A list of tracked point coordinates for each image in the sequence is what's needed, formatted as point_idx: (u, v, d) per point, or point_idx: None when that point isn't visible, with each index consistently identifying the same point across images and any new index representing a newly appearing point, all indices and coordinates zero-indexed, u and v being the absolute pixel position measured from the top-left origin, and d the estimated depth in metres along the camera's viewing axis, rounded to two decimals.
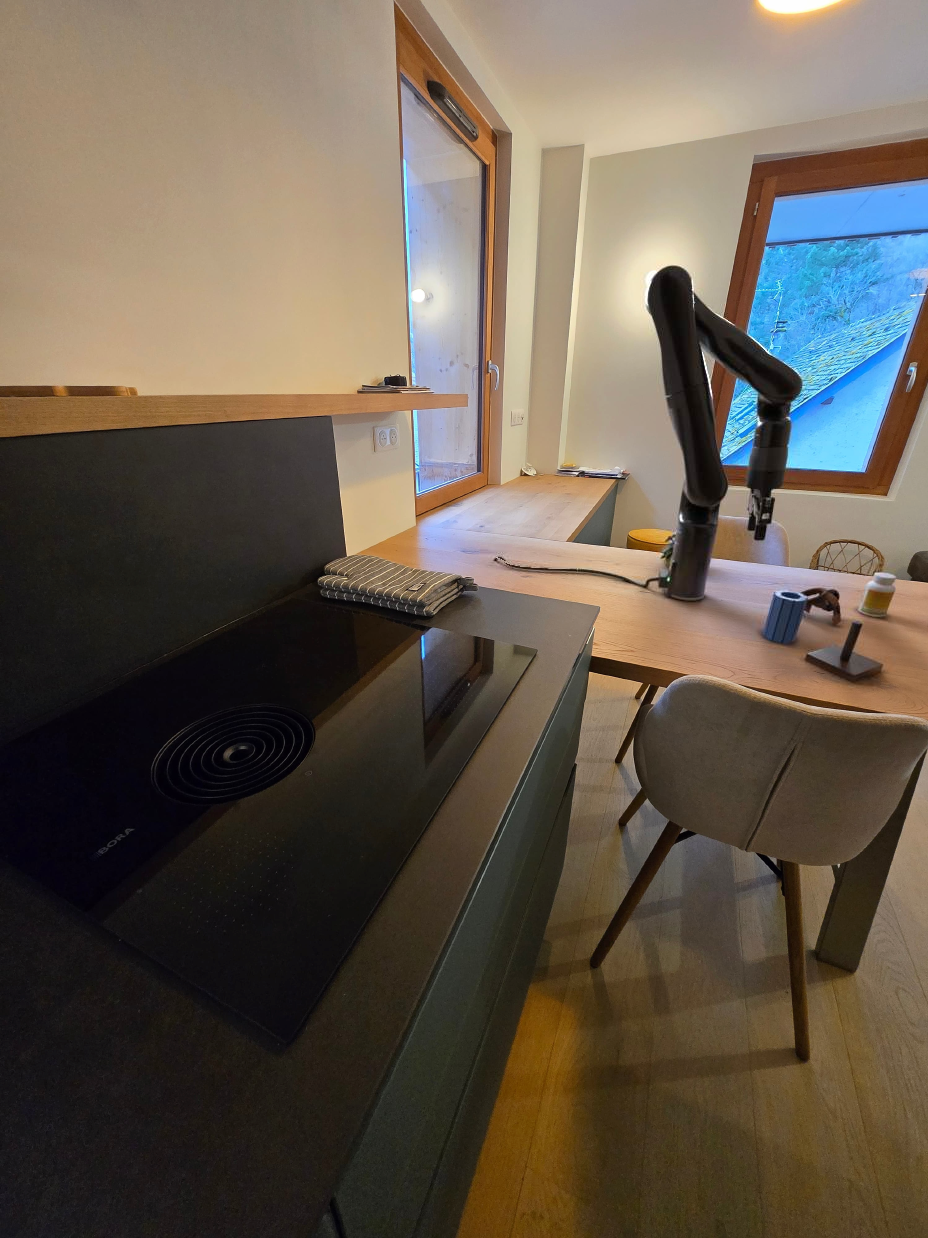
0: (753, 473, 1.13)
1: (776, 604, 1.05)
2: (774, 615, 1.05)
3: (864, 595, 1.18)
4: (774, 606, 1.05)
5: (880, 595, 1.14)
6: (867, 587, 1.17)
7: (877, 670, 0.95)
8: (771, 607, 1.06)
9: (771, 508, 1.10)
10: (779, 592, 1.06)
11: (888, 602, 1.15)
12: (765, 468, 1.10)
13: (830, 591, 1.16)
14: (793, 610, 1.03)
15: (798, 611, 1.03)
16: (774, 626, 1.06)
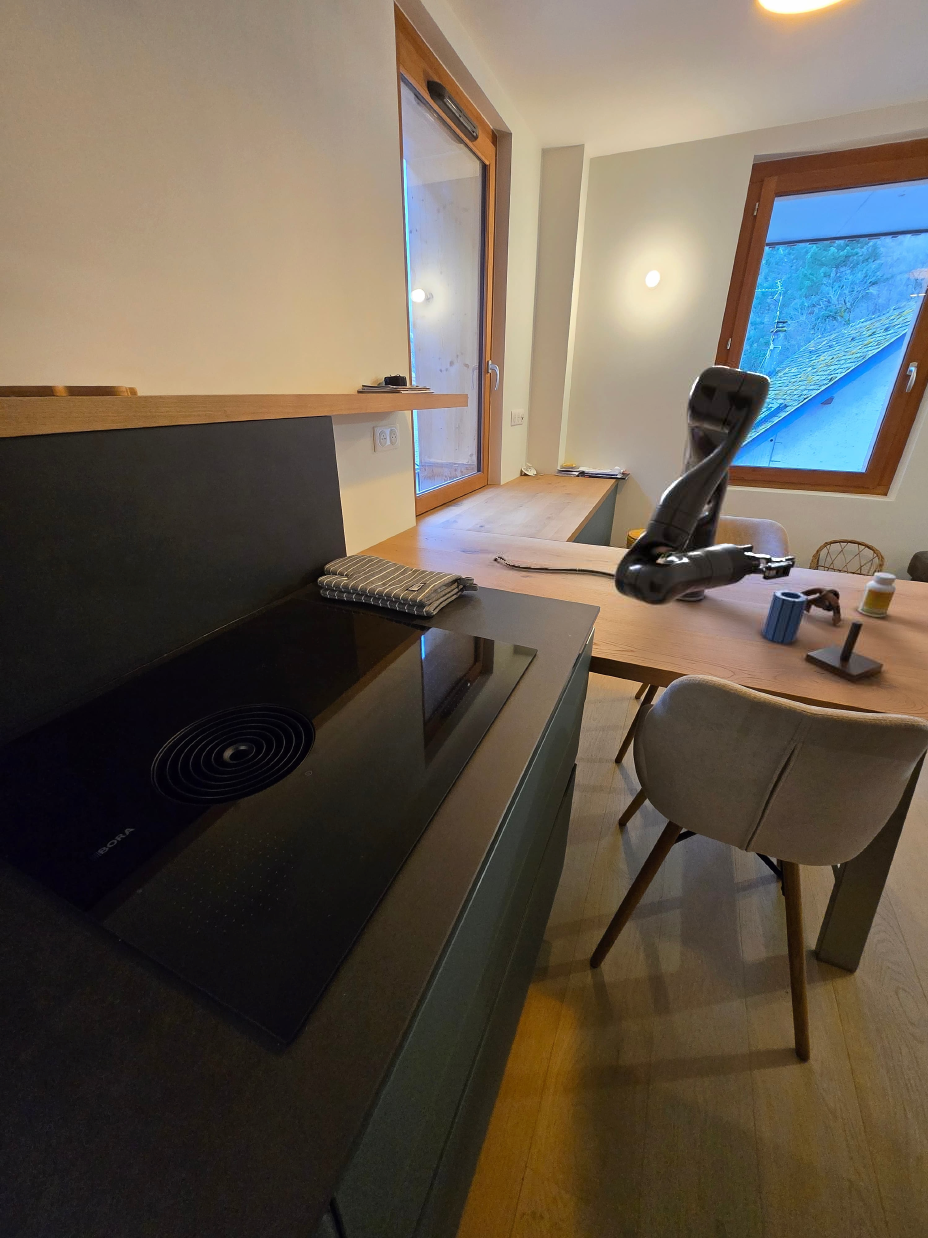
0: None
1: (776, 604, 1.05)
2: (774, 615, 1.05)
3: (864, 595, 1.18)
4: (774, 606, 1.05)
5: (880, 595, 1.14)
6: (867, 587, 1.17)
7: (877, 670, 0.95)
8: (771, 607, 1.06)
9: None
10: (779, 592, 1.06)
11: (888, 602, 1.15)
12: None
13: (830, 591, 1.16)
14: (793, 610, 1.03)
15: (798, 611, 1.03)
16: (774, 626, 1.06)
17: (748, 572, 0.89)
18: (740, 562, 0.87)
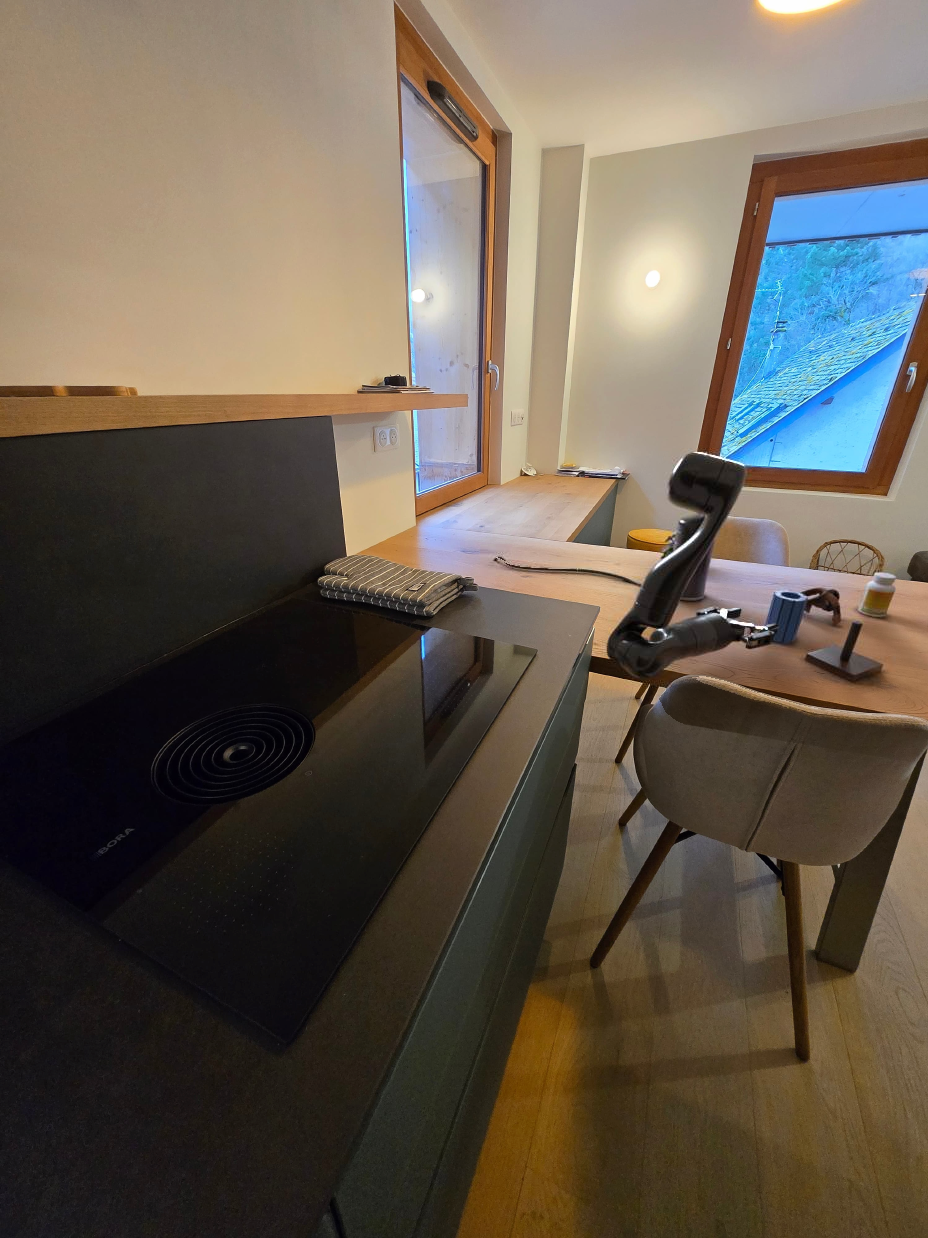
0: None
1: (776, 604, 1.05)
2: (774, 615, 1.05)
3: (864, 595, 1.18)
4: (774, 606, 1.05)
5: (880, 595, 1.14)
6: (867, 587, 1.17)
7: (877, 670, 0.95)
8: (771, 607, 1.06)
9: None
10: (779, 592, 1.06)
11: (888, 602, 1.15)
12: None
13: (830, 591, 1.16)
14: (793, 610, 1.03)
15: (798, 611, 1.03)
16: None
17: (732, 640, 0.96)
18: (724, 633, 0.94)
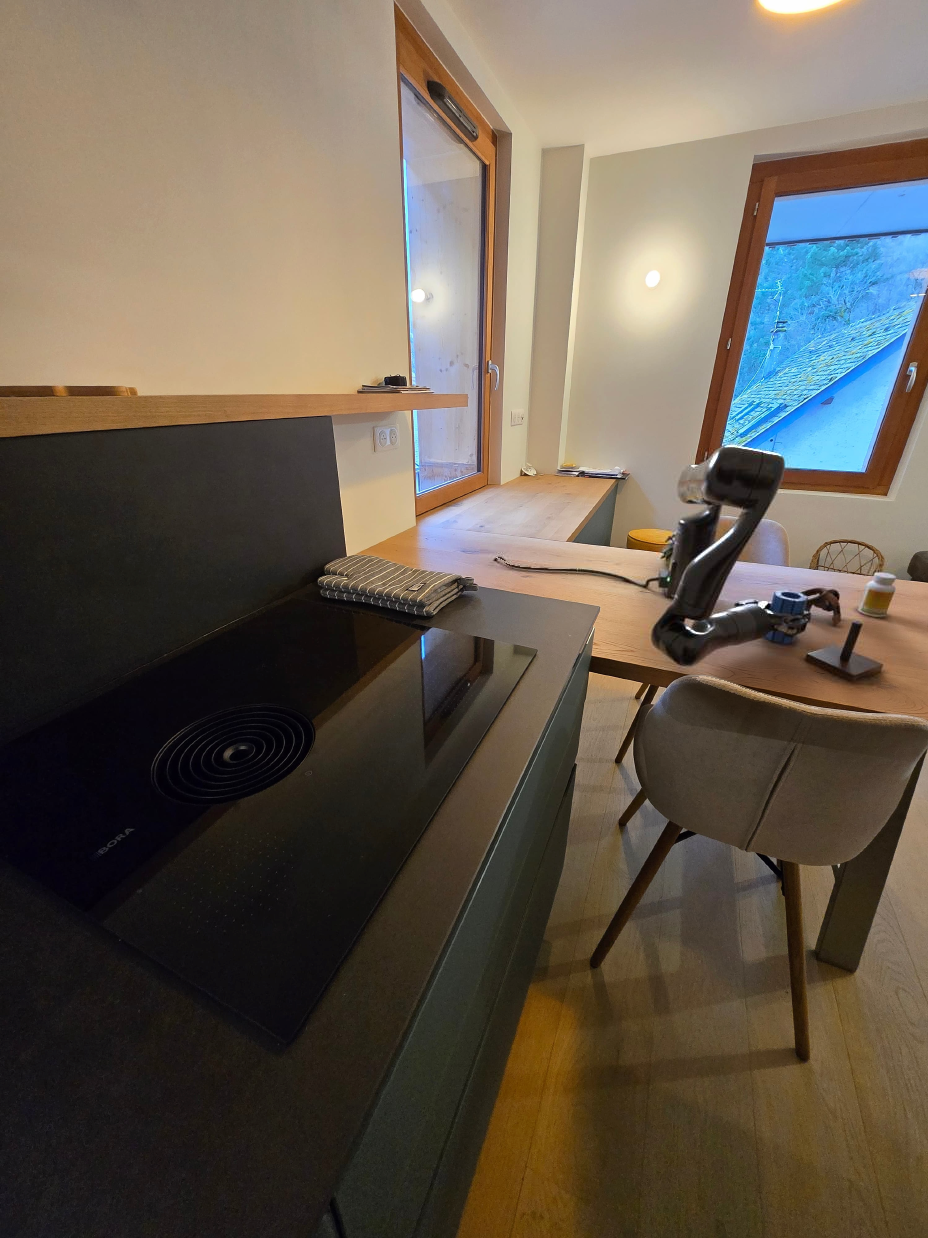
0: None
1: (776, 604, 1.05)
2: None
3: (864, 595, 1.18)
4: (774, 606, 1.05)
5: (880, 595, 1.14)
6: (867, 587, 1.17)
7: (877, 670, 0.95)
8: (771, 607, 1.06)
9: None
10: (779, 592, 1.06)
11: (888, 602, 1.15)
12: None
13: (830, 591, 1.16)
14: (793, 610, 1.03)
15: (798, 611, 1.03)
16: None
17: (770, 630, 1.00)
18: (763, 622, 0.98)
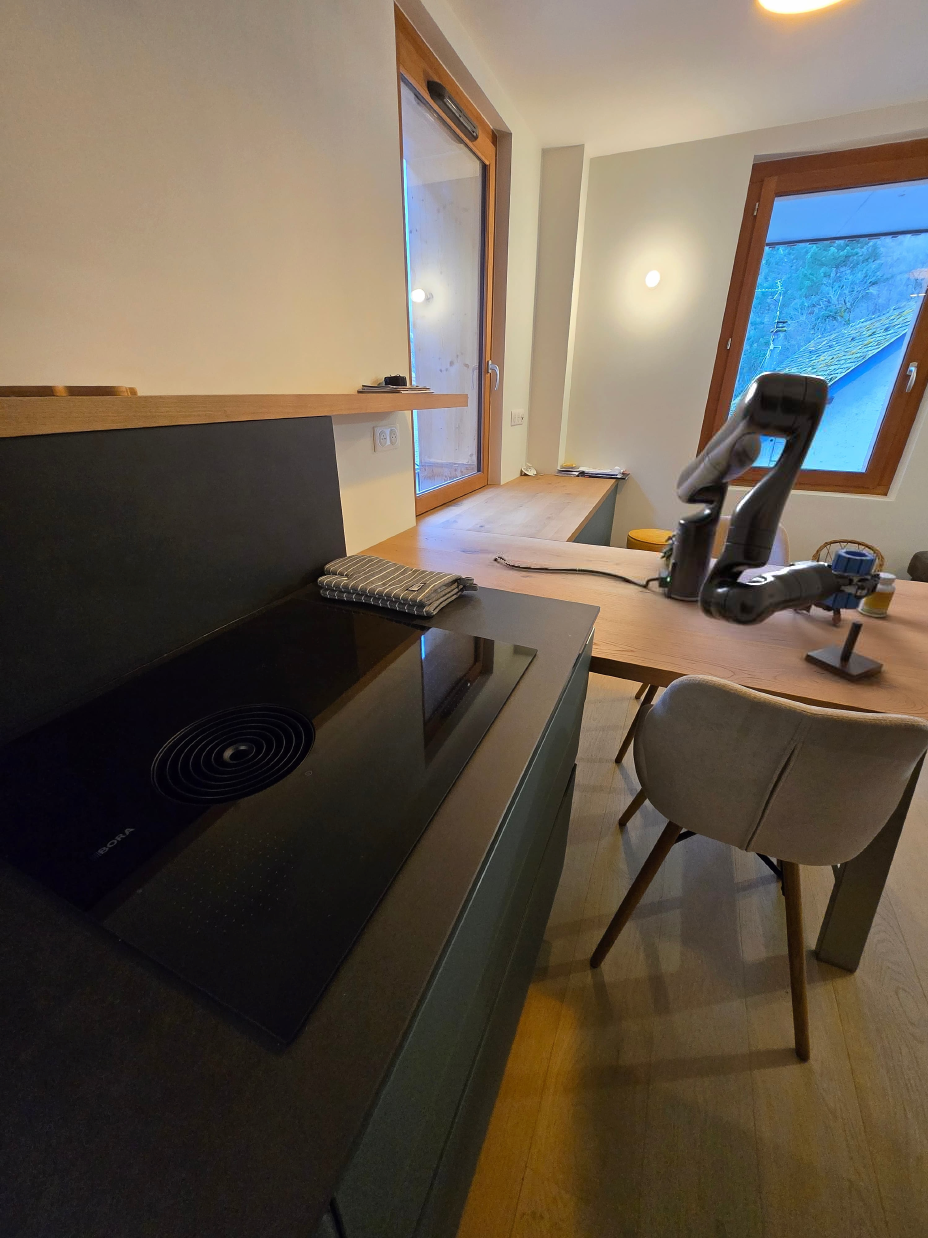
0: None
1: (839, 564, 0.92)
2: None
3: None
4: (836, 566, 0.92)
5: (880, 595, 1.14)
6: None
7: (877, 670, 0.95)
8: (832, 568, 0.93)
9: None
10: (842, 551, 0.93)
11: (888, 602, 1.15)
12: None
13: None
14: (860, 570, 0.90)
15: (866, 571, 0.90)
16: None
17: (836, 591, 0.87)
18: (829, 582, 0.85)
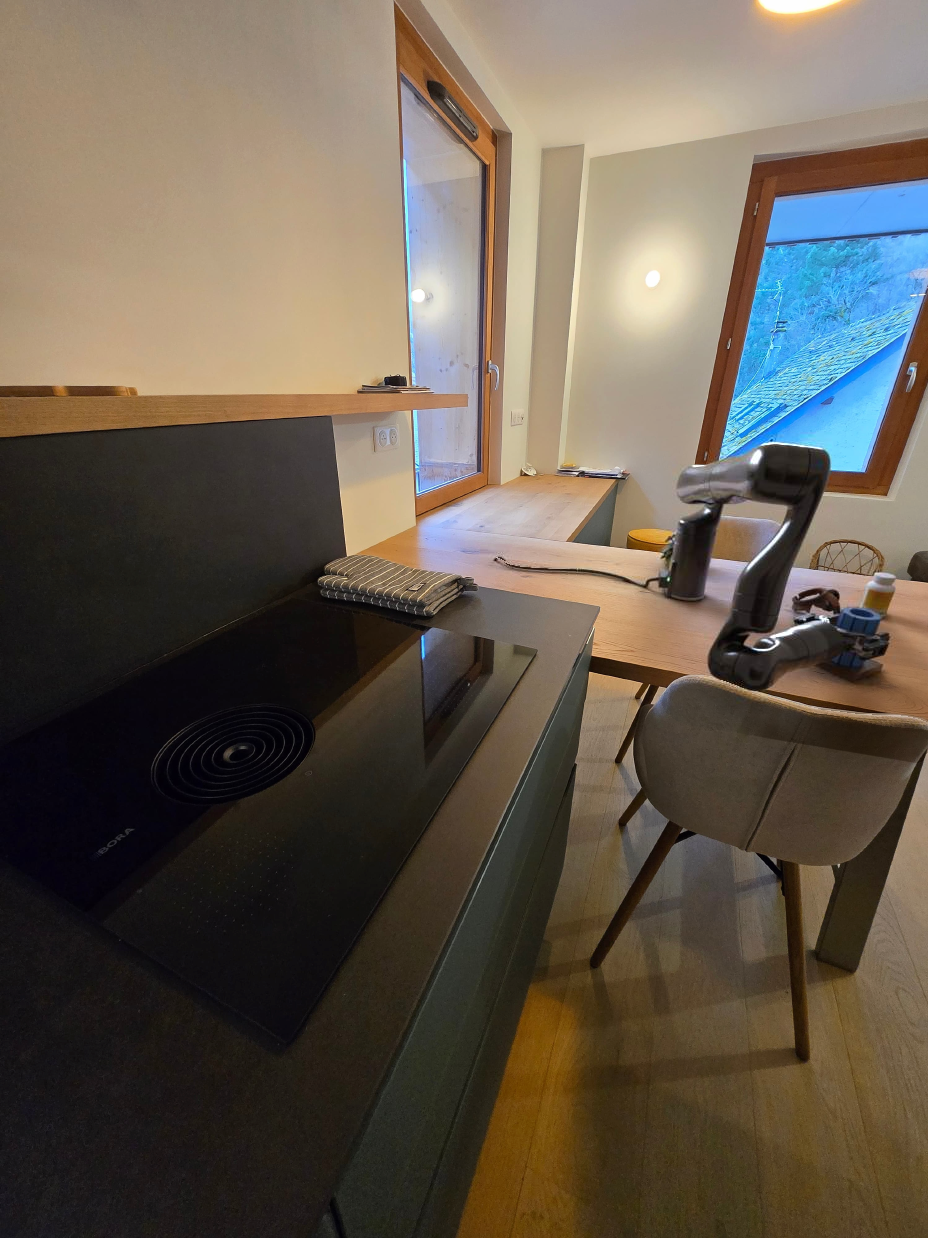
0: (801, 624, 0.90)
1: (845, 623, 0.93)
2: None
3: (864, 595, 1.18)
4: (842, 625, 0.93)
5: (880, 595, 1.14)
6: (867, 587, 1.17)
7: (877, 670, 0.95)
8: (838, 626, 0.94)
9: None
10: (847, 609, 0.94)
11: (888, 602, 1.15)
12: None
13: (830, 591, 1.16)
14: (866, 630, 0.91)
15: (871, 631, 0.91)
16: None
17: (842, 651, 0.88)
18: (835, 642, 0.86)
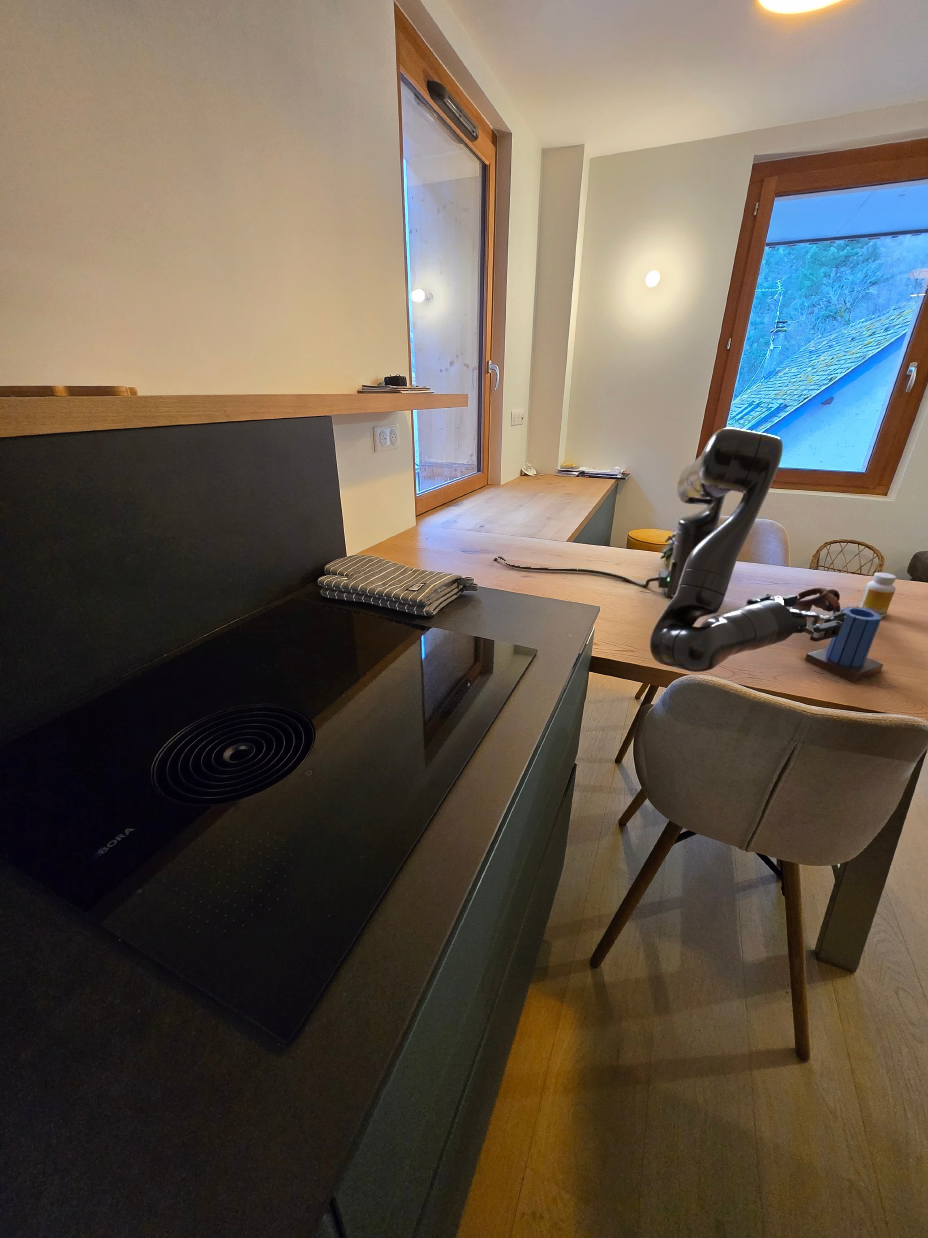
0: None
1: (845, 623, 0.93)
2: (842, 635, 0.94)
3: (864, 595, 1.18)
4: (842, 625, 0.93)
5: (880, 595, 1.14)
6: (867, 587, 1.17)
7: (877, 670, 0.95)
8: None
9: None
10: (847, 609, 0.94)
11: (888, 602, 1.15)
12: None
13: (830, 591, 1.16)
14: (866, 630, 0.91)
15: (871, 631, 0.91)
16: (841, 647, 0.94)
17: (794, 632, 0.83)
18: (786, 623, 0.82)
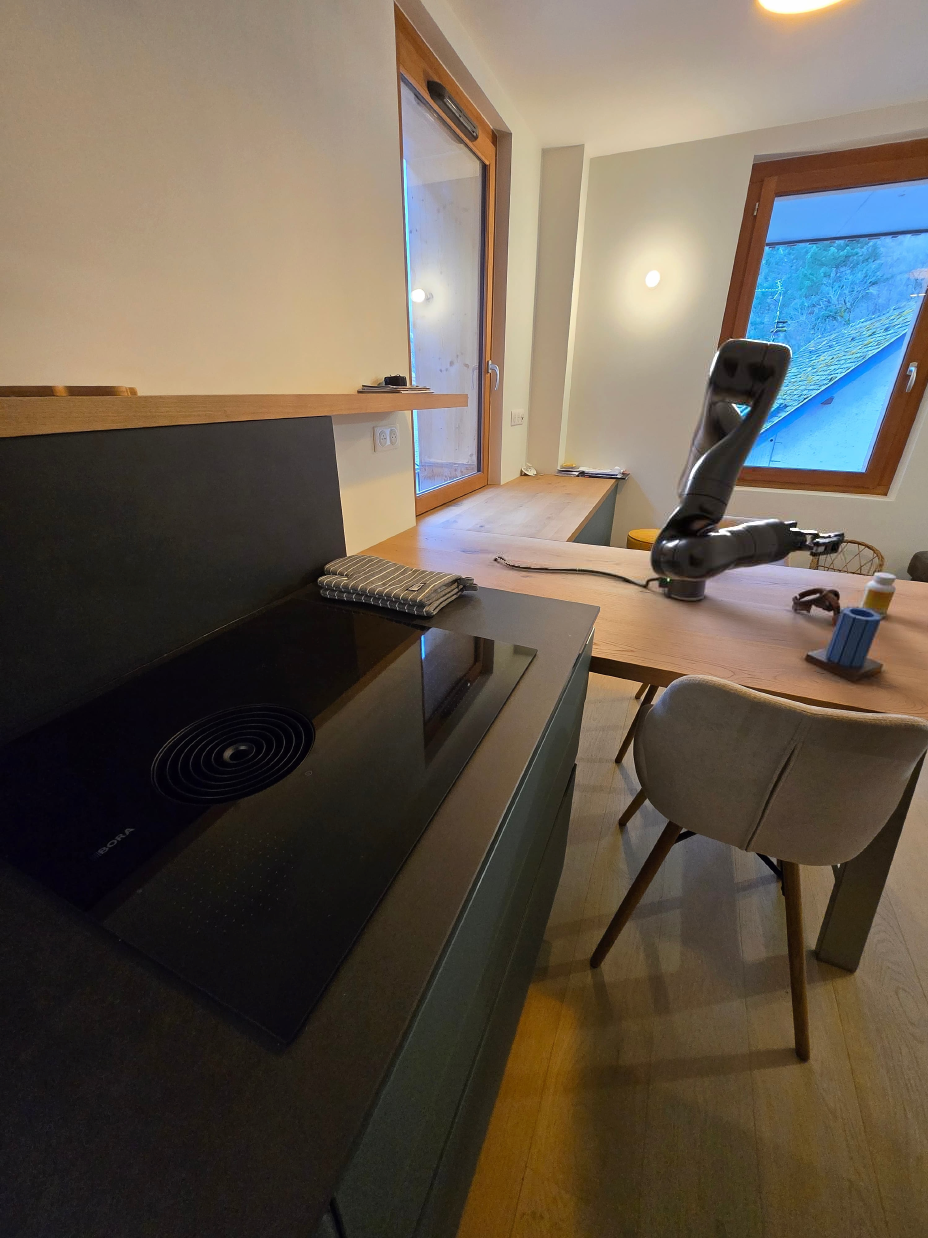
0: None
1: (845, 623, 0.93)
2: (842, 635, 0.94)
3: (864, 595, 1.18)
4: (842, 625, 0.93)
5: (880, 595, 1.14)
6: (867, 587, 1.17)
7: (877, 670, 0.95)
8: (838, 626, 0.94)
9: None
10: (847, 609, 0.94)
11: (888, 602, 1.15)
12: None
13: (830, 591, 1.16)
14: (866, 630, 0.91)
15: (871, 631, 0.91)
16: (841, 647, 0.94)
17: (794, 549, 0.83)
18: (785, 538, 0.82)
